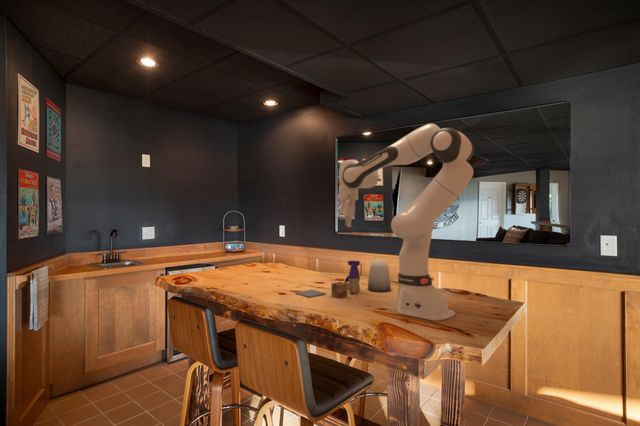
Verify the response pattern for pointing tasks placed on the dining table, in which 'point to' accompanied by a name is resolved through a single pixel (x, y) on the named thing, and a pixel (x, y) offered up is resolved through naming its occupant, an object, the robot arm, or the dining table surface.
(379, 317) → the dining table surface
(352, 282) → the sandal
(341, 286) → the walnut block
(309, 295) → the pad
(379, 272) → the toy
